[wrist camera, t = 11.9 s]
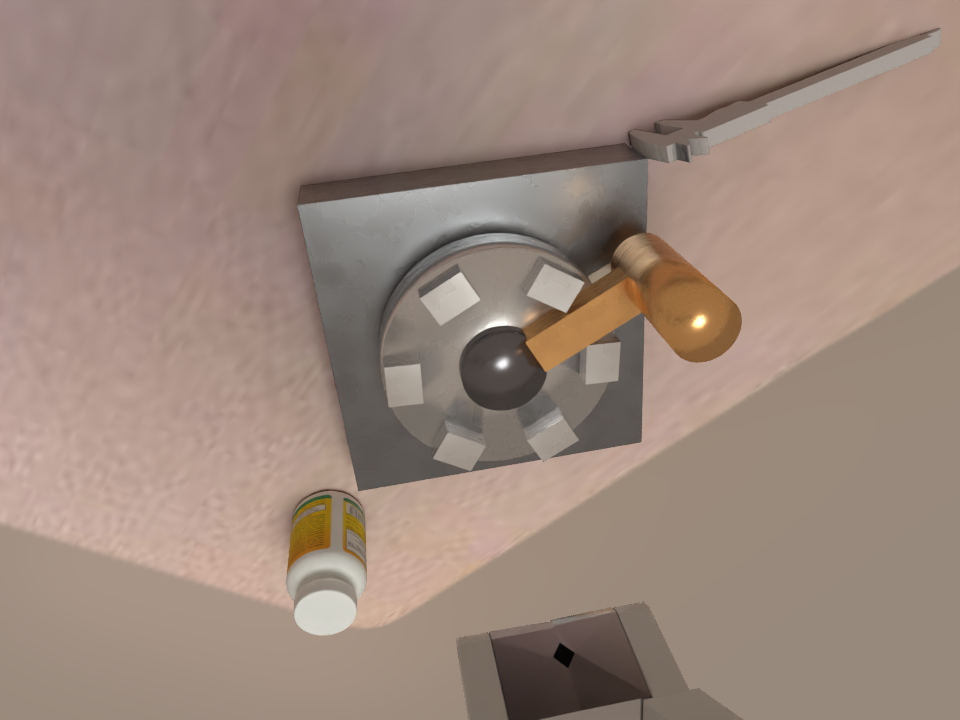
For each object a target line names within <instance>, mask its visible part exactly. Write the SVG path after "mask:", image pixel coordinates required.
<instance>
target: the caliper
mask: <svg viewBox="0 0 960 720" xmlns="http://www.w3.org/2000/svg"><path fill="white" fill-rule="evenodd" d="M940 38H941V28H938V29H935V30H932V31H930V32H927V33H925V34H922V35H917V36H914V37H911V38H908V39H905V40H902V41H899V42H896V43H893V44H890V45H888V46H885V47H883V48H880V49H878V50H875V51H873V52H870V53H868V54H866V55H863V56H861V57H858V58H856V59H853V60H851V61H848V62H846V63H843V64H841V65H838V66H836V67H834V68H831V69H829V70H826V71H824V72H821V73H819V74H816V75H814V76H811V77H809V78H806V79H804V80H801V81H799V82H796V83H794V84H791V85H789V86H786V87H784V88H781V89H779V90H776V91H774V92H771V93H769V94H766V95H764V96H761V97H759V98H757V99H754V100H752V101H749V102H746V101H737V102H735V103H733V104H731V105H729V106H727V107H724V108H720V109H718V110H716V111H714V112H712V113H710V114H709V115H707V117H704V118H702V119H699V120H661V121H658V122H655V123H654V124H655V130H656V133H651V132H645V131H640V130H635V129H634V130H632V131H631V132H630V133H629V134H630V140H631V145H632V148H633V149H634V150H636V151H637V152H639V153H640V154H642V155H643V156H645V157H646V158H648V159H653V160H657V161H662V162H666V163H670V162H673V161H676V160H682V161H686V162H690V163H691V162H692V158H691V155H693V156H699V155H709V154H710V152H709V147H711V146H714V145H716V144H718V143H721V142H723V141H726V140H728V139H730V138H733V137H735V136H737V135H740V134H742V133H745V132H747V131H749V130H752V129H754V128H757V127H759V126H761V125H764V124H766V123H769V122H770V119H771V118H774V117H776V116H779V115H781V114H783V113H786V112H788V111H791V110H793V109H796V108H798V107H801V106H803V105H805V104H808V103H810V102H813V101H815V100H818V99H820V98H823V97H825V96H827V95H830V94H832V93H835V92H837V91H840V90H842V89H845V88H847V87H849V86H852V85H854V84H857V83H859V82H862V81H864V80H866V79H869V78H871V77H874V76H876V75H879V74H881V73H884V72H886V71H888V70H891V69H893V68H896V67H898V66H901V65H903V64H905V63H908V62H910V61H913V60H915V59H917V58H920V57H922V56H925V55H927V54H930V53H932V50H933V49H934V48H936V47H939V45H940Z"/></svg>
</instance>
